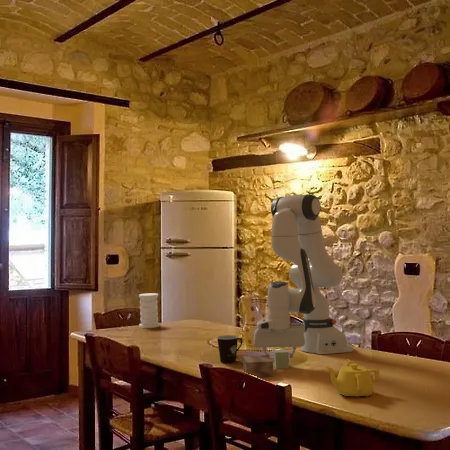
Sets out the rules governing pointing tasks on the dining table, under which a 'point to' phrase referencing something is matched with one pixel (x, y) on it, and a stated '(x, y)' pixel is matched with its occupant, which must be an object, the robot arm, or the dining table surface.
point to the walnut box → (258, 366)
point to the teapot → (354, 380)
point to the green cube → (281, 359)
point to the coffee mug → (228, 348)
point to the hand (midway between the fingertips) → (279, 358)
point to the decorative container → (149, 310)
